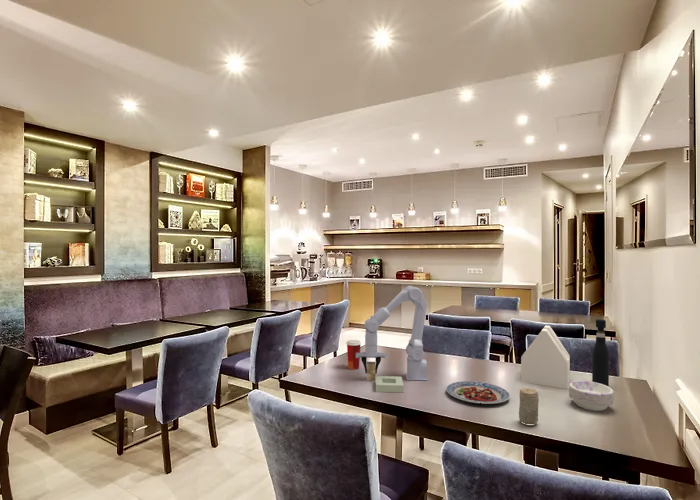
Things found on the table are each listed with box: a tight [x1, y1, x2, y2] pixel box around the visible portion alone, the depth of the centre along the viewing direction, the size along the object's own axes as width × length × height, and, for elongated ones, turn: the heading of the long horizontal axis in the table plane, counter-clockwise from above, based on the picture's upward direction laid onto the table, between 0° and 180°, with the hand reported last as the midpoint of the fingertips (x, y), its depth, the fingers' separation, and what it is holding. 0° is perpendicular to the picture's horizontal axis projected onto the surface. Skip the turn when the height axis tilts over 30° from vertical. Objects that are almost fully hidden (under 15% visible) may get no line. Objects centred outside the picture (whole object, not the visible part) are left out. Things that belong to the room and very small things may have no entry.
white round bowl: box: [568, 380, 615, 412], centre depth 158 cm, size 15×15×8 cm
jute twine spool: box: [518, 387, 540, 425], centre depth 142 cm, size 6×8×12 cm
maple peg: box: [366, 361, 376, 382], centre depth 189 cm, size 4×4×8 cm
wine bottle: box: [591, 319, 610, 387], centre depth 182 cm, size 6×6×30 cm
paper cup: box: [345, 339, 362, 371], centre depth 207 cm, size 8×8×14 cm
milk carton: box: [520, 325, 571, 390], centre depth 189 cm, size 19×15×25 cm
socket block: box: [374, 375, 405, 393], centre depth 178 cm, size 12×12×3 cm
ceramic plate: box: [445, 380, 511, 405], centre depth 169 cm, size 26×26×3 cm
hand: (371, 372), depth 189 cm, fingers closed on maple peg, 4 cm apart
